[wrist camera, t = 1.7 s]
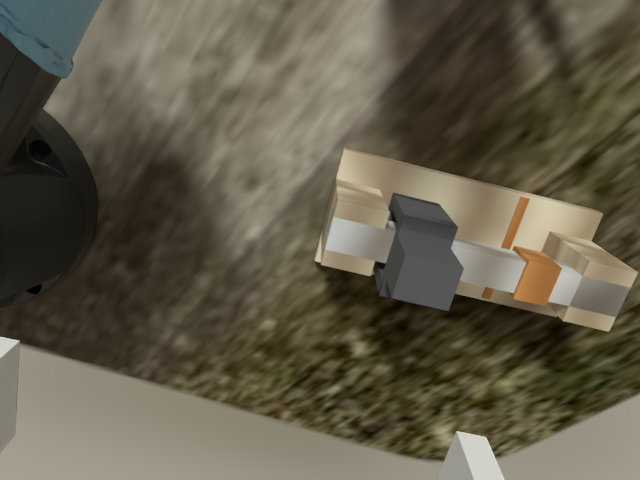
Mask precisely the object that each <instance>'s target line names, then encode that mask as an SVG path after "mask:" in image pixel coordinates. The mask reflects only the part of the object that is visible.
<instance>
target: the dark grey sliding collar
mask: <svg viewBox="0 0 640 480" xmlns="http://www.w3.org/2000/svg"><path fill="white" fill-rule="evenodd" d="M388 210H389V212H390V214H389V217H388V221H392V222H396V223H398V226H397V229H396V233H395V236H394V239H393V242H392V245H391V249H390V252H389V255H388V258H387V262H386V263H382V262H377V261H375V263H374V267H373V271H374V276H375V280H376V284H377V289H378V293H379V296H383V297H387V298H391V299H396V300H400V301H404V302H409V303H413V304H417V305H422V306H426V307H433V308H438V309H442V310H446V311H449V308H450V305H451V303H452V300H453V297H454V295H455V292H456V289H457V286H458V284H459V281H460V278H461V275H462V273H463V270H464V268H463V266H462V265H461V263H460V262H459V260H458V259H457V257H456V256H455V254H454V253H453V251H452V250H451V247H452V244H453V241H454V238H455V235H456V233H457V230H458V227H457V225H456V224H455V223H454V222H453V220H452V219H451V218H450V217H449V215H448V214H447V213H446V212H445V211H444V209H443V208H442V207H441V206H440V204H438V203H434V202H430V201H426V200H422V199H418V198H414V197H410V196H405V195H401V194H397V193H393V194H392V197H391V201H390V204H389V207H388Z"/></svg>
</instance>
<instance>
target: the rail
mask: <svg viewBox="0 0 640 480" xmlns="http://www.w3.org/2000/svg"><path fill="white" fill-rule="evenodd" d="M393 193H397V194H401V195H405V196H410V197H414V198H418V199H422V200H426V201H430V202H434V203H438V204H440V206H441V207H442V208H443V209H444V211H445V212H446V213H447V214H448V215H449V217H450V218H451V219H452V220H453V222H454V223H455V224H456V225H457V227H458V230H457V233H456V235H455V238H454V241H453V244H452V247H451V250H452V251H453V253H454V254H455V256H456V257H457V259H458V260H459V262H460V263H461V265H462V266H463V268H464V270H463V273H462V275H461V278H460V281H459V284H458V286H457V289H456V292H455V294H459V295H463V296H468V297H472V298H476V299H480V300H485V301H489V302H493V303H498V304H502V305H506V306H511V307H515V308H519V309H524V310H528V311H532V312H537V313H541V314H545V315H549V316H554V317H557V316H559V318H560V319H561V320H562V321H565V322H570V323H574V324H578V325H583V326H587V327H591V328H596V329H600V330H604V331H609V330H610V328H611V326H612V324H613V322H614V320H615V318H616V316H617V314H618V312H619V310H620V308H621V306H622V304H623V302H624V300H625V298H626V296H627V294H628V292H629V290H630V288H631V286H632V284H633V282H634V280H635V278H636V276H637V274H638V272H636V271H635V270H633V269H632V268H630V267H629V266H627V265H626V264H624V263H623V262H621V261H620V260H618V259H617V258H615V257H614V256H612V255H611V254H609V253H608V252H606V251H605V250H603V249H602V248H600V247H599V246H597V245H596V244H595V243H593V242H592V241H591V240H592V238H593V236H594V234H595V231H596V229H597V227H598V225H599V222H600V220H601V218H602V216H603V214H602V213H601V212H599V211H597V210H594V209H590V208H586V207H582V206H578V205H574V204H570V203H566V202H562V201H558V200H554V199H550V198H546V197H542V196H538V195H534V194H530V193H526V192H522V191H518V190H514V189H510V188H506V187H502V186H498V185H494V184H490V183H486V182H482V181H478V180H474V179H470V178H466V177H462V176H458V175H454V174H449V173H445V172H441V171H437V170H433V169H429V168H425V167H421V166H417V165H413V164H409V163H405V162H401V161H397V160H393V159H389V158H385V157H381V156H377V155H373V154H369V153H365V152H361V151H357V150H353V149H349V148H345V147H343V150H342V154H341V158H340V162H339V166H338V170H337V173H336V177H335V181H334V185H333V189H332V193H331V197H330V200H329V204H328V208H327V212H326V216H325V220H324V224H323V227H322V231H321V235H320V239H319V243H318V247H317V251H316V254H315V261H317V262H321V265H324V266H328V267H332V268H337V269H341V270H345V271H350V272H354V273H358V274H362V275H367V276H371V274H373V275H374V271H373V267H374V263H375V261H377V262H382V263H386V262H387V258H388V255H389V252H390V249H391V245H392V242H393V239H394V236H395V233H396V229H397V226H398V223H396V222H392V221H388V217H389V214H390V212H389V210H388V207H389V204H390V201H391V197H392V194H393Z"/></svg>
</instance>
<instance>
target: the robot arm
mask: <svg viewBox="0 0 640 480" xmlns="http://www.w3.org/2000/svg"><path fill="white" fill-rule="evenodd" d="M101 2H102V0H0V308H2V307H6V306H10V305H14V304H18V303H22V302H25V301H28V300H30V299H33V298H35V297H37V296H39V295H41V294H43V293H45V292H46V291H48V290H49V289H51V288H52V287H54V286H55V285H56V284H57V283H59V282H60V281H61V280H62V279H64V278H65V277H66V276H67V275H68V274H70V273H71V272H72V271H73V270H74V269H75V268H76V267H77V266H78V264H79V263H80V262H81V261H82V259H83V258H84V256H85V255H86V253H87V251H88V249H89V247H90V245H91V242H92V240H93V236H94V233H95V229H96V222H97V198H96V191H95V186H94V182H93V179H92V176H91V173H90V170H89V168H88V165H87V163H86V161H85V159H84V157H83V155H82V153H81V152H80V150H79V148H78V147H77V145H76V144H75V142H74V141H73V139H72V138H71V137H70V135H69V134H68V133H67V132H66V130H65V129H64V128H63V127H62V126H61V125H60V124H59V123H58V122H57V121H56V120H55V119H54V118H53V117H52V116H51V115H50V114H49V113H47V112H46V111H45V110H43V109H42V108H43V107H44V105H45V104H46V102H47V100H48V99H49V97H50V96H51V94H52V92H53V91H54V89H55V88H56V86H57V85H58V83H59V81H60V80H61V78H64V79H66V78H67V77H68V76H69V75H70V73H71V71H72V68H73V61H72V58H73V56H74V54H75V52H76V50H77V48H78V46H79V44H80V41H81V39H82V37H83V35H84V33H85V31H86V29H87V28H88V26H89V24H90V22H91V20H92V18H93V17H94V15H95V13H96V11H97V9H98V7H99V5H100V4H101ZM19 347H20V341H19V340H14V339H9V338H4V337H0V453H1V452H2V450H3V449H4V448H5V447H6V446H7V444H8V443H9V442H10V441H11V440H12V438H13V437H14V436H15V429H16V409H17V386H18V367H19ZM437 480H504V477H503V475H502V473H501V470H500V468H499V466H498V463H497V461H496V459H495V456H494V454H493V452H492V449H491V447H490V445H489V443H488V440H487V438H486V437H483V436H478V435H473V434H468V433H464V432H459V431H456V434H455V436H454V439H453V441H452V444H451V446H450V449H449V451H448V454H447V456H446V458H445V461H444V463H443V466H442V468H441V471H440V474H439V476H438V478H437Z"/></svg>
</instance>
